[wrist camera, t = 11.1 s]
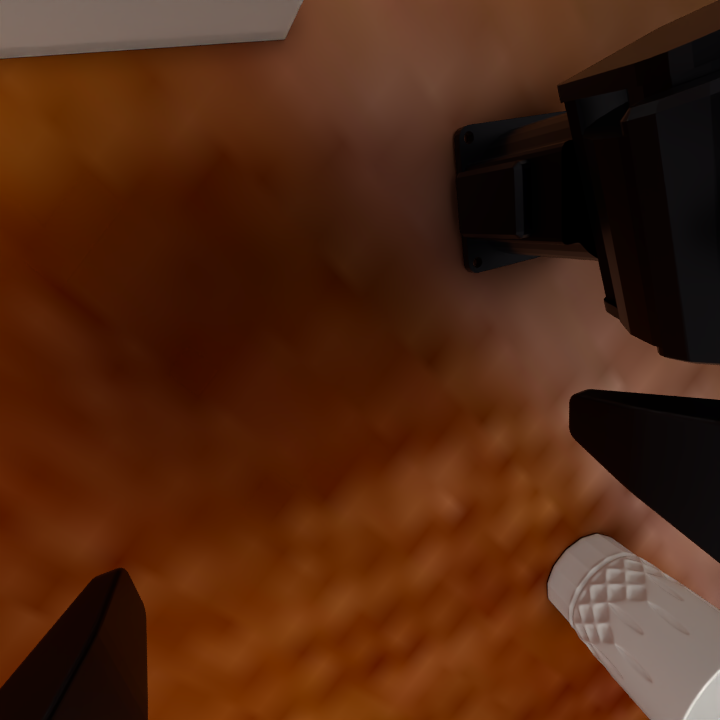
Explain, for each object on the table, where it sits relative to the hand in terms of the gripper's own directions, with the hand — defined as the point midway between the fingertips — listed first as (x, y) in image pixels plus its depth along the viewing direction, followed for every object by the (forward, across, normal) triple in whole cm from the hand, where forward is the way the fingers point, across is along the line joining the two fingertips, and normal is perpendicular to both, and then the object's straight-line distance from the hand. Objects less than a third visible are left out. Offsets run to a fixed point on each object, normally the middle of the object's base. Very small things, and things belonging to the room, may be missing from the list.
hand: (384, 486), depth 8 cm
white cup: (+12, -18, +24) cm, 32 cm away
